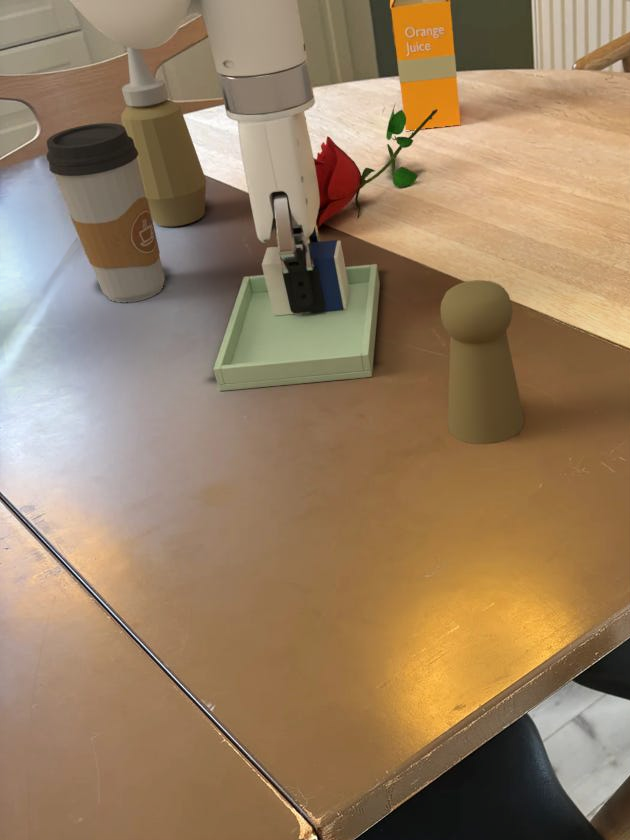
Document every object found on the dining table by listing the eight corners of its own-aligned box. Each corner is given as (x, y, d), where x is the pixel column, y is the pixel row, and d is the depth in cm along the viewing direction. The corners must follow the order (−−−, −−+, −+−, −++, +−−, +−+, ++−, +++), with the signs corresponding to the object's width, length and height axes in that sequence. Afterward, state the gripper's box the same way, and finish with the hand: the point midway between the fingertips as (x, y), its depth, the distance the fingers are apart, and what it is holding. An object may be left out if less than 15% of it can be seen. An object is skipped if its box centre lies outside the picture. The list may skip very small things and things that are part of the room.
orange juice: (458, 107, 144) (444, -62, 131) (461, 125, 138) (446, -51, 124) (404, 113, 144) (383, -55, 131) (404, 131, 138) (383, -44, 124)
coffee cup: (147, 310, 101) (97, 151, 91) (78, 305, 103) (21, 149, 93) (191, 276, 106) (148, 122, 96) (124, 271, 109) (75, 120, 99)
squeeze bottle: (194, 201, 124) (150, 33, 112) (226, 216, 119) (184, 43, 107) (134, 221, 120) (81, 50, 108) (164, 237, 115) (113, 60, 103)
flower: (407, 51, 123) (276, 153, 106) (473, 93, 124) (353, 201, 106) (389, 119, 131) (263, 225, 113) (451, 158, 131) (336, 270, 113)
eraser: (273, 317, 96) (261, 264, 92) (278, 298, 99) (266, 246, 96) (347, 309, 96) (337, 256, 92) (349, 291, 99) (340, 239, 95)
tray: (219, 391, 87) (213, 369, 86) (248, 297, 101) (243, 276, 100) (372, 377, 87) (368, 354, 85) (379, 284, 101) (376, 263, 99)
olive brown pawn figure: (459, 451, 77) (444, 313, 69) (439, 413, 81) (423, 280, 74) (534, 433, 78) (527, 295, 70) (511, 397, 82) (502, 264, 75)
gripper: (237, 68, 91) (282, 268, 103) (205, 123, 79) (260, 343, 91) (320, 59, 91) (355, 261, 103) (301, 113, 78) (343, 335, 91)
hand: (310, 297), depth 97 cm, fingers closed on eraser, 4 cm apart
